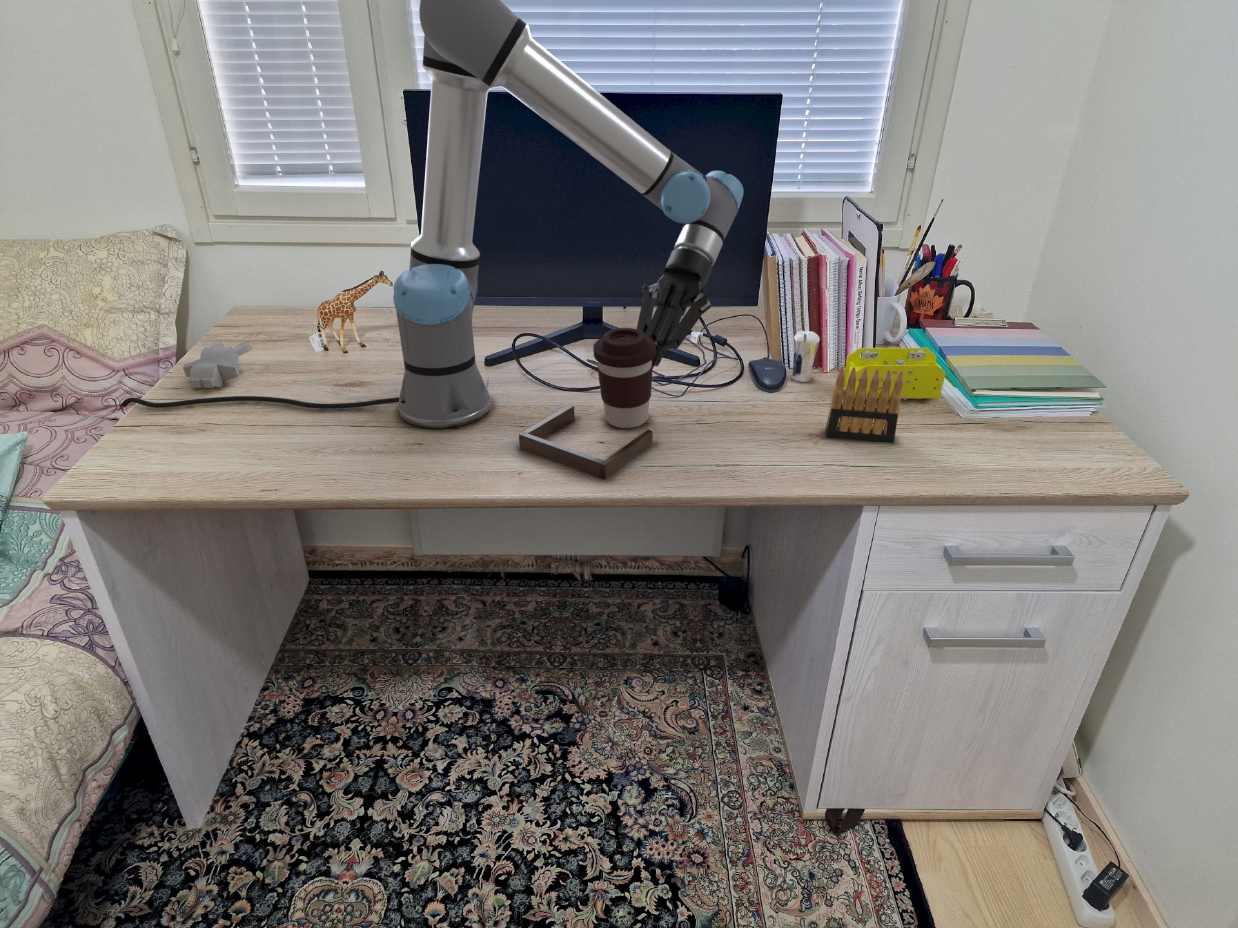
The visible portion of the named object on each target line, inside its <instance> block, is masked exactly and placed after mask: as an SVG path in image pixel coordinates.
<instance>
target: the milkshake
mask: <svg viewBox="0 0 1238 928" xmlns="http://www.w3.org/2000/svg"><path fill="white" fill-rule="evenodd" d="M820 341H821V338H820V336H819V335H818V334H817V333H816V332H814V331H811V330H801V331H798V332H797V333H796V334H795V335H794V336H793V363H792V379H793V380H794V381H796V382H798V383H799V382H800V383H806V382H809V381H810V380H811V377H812V372H813V368H814V363H815V359H816V355H817V351H818V347H819V344H820Z"/></svg>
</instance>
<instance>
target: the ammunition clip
mask: <svg viewBox="0 0 1238 928" xmlns="http://www.w3.org/2000/svg"><path fill="white" fill-rule="evenodd" d="M844 378H845V367H844V366H841V367H840V368H839V371H838V373H837V376H836V379H835V380H836V381H835V385H834V389H833V391H832V395H831V401H830V407H829V411H828V416H827V421H826V425H825V430H824V434H825V435H824V436H825V438H831V439H844V440H854V441H856V440H857V441H864V442H877V443H891V444H894V443H895V439H896V438H895V437H896V432H897V427H898V426H897V425H898V419H899V411H900V407H901V402H902V398H901V393H902V386H903V372H902V371H900V373H899V374H898V376H897V379H896V381H895V385H894V388H893V392H892V394H891V397H890V385H891V371H890V370H889V371H888V372H887V373H886V375H885V378H884V381H883V385H882V388H881V392H880V394H879V397H878V385H879V370H878V369H877V370H876V371H875V373H874V375H873V377H872V380H871V385H870V388H869V391H868V394H867V398H866V388H867V380H868V372H867V369H866V368H865V369H864V371H863V373H862V375H861V378H860V381H859V385H858V389H857V392H856V395H855V383H856V369H855V368H853V369H852V371H851V373H850V375H849V379H848V383H847V387H846V390H845V387H844ZM854 396H855V399H854ZM877 397H878V398H877ZM889 397H890V400H889ZM865 399H866V400H865Z"/></svg>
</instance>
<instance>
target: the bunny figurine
mask: <svg viewBox="0 0 1238 928" xmlns="http://www.w3.org/2000/svg"><path fill="white" fill-rule="evenodd" d="M253 350H254V346H253V345H252V344H251V343H250V341H244V342H241V343H239V344H237V345H236V346H234V347H232V346H225V343H224V342H221V341H214V342H212V344H211V346H205V348H202V350H201V352H200V355H199V357H200V358H199V359H196V360H194V361H191V362H188V363H185V364H183V367H182V369H183V371H184V374H185V377H186V378H189V380H188V382H189V384H190V387H191V389H196V388H199V389H202V388H207V389H208V388H209V389H211V388H212V389H213V388H222V387H223V385H224V383H223V382H224V381H226V380H230V379H234V378H238V377H240V376H241V373H240V370H239V357H240V356H242V355H244V354H247V353H249V352H252V351H253Z"/></svg>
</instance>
